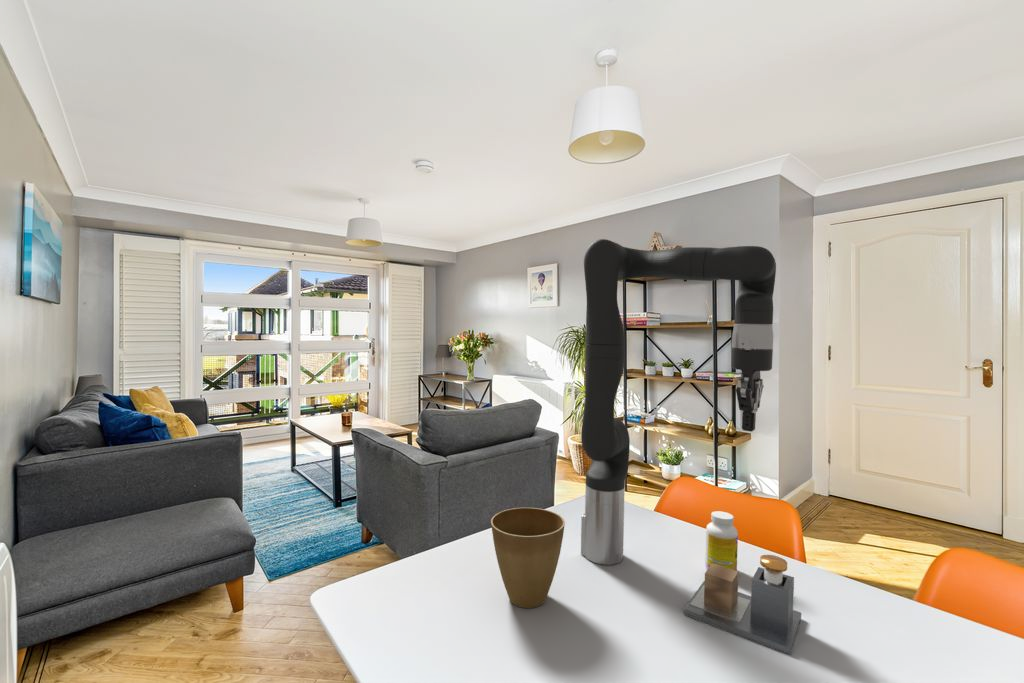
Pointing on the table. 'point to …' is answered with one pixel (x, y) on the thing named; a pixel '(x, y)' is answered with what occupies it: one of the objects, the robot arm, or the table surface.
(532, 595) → the plant pot
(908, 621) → the table surface
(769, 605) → the grey assembly fixture
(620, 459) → the robot arm
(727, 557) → the supplement bottle
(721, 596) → the block
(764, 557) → the plunger
